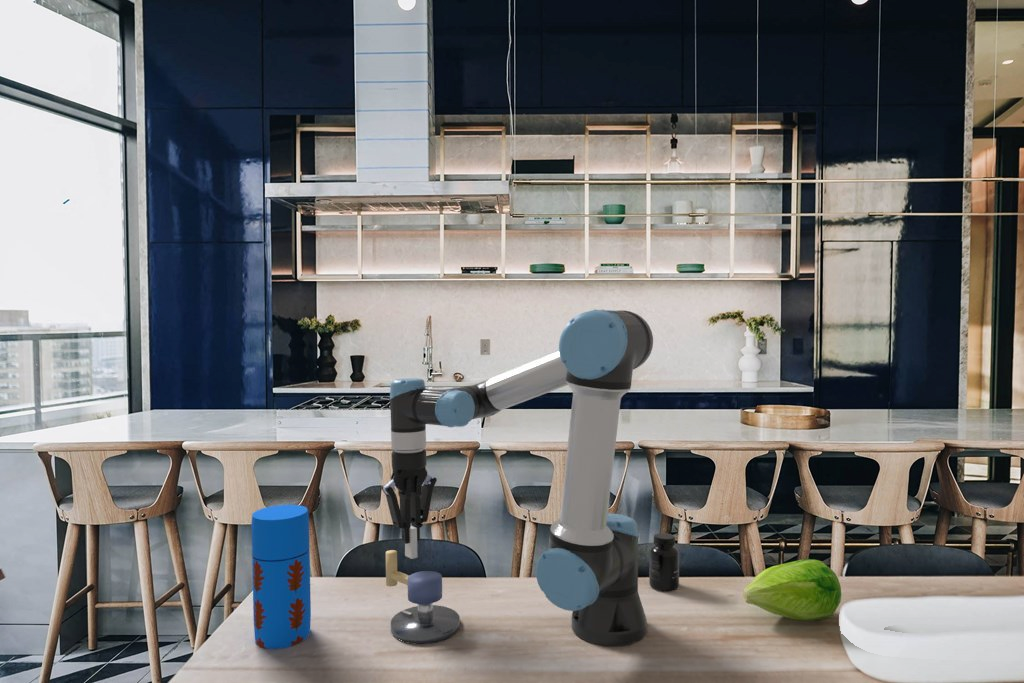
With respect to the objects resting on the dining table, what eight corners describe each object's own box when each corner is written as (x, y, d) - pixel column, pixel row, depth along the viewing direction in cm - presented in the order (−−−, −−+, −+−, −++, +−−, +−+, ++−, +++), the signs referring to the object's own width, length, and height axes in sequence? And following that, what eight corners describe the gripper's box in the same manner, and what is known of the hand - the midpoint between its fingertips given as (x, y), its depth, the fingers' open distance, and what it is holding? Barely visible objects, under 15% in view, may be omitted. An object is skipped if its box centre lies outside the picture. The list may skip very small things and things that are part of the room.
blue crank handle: (449, 597, 135) (449, 563, 135) (423, 609, 130) (422, 573, 129) (401, 577, 145) (400, 546, 145) (375, 587, 140) (374, 555, 140)
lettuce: (728, 607, 143) (728, 553, 142) (815, 602, 145) (815, 548, 145) (760, 638, 129) (760, 578, 129) (855, 631, 131) (856, 572, 131)
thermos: (274, 655, 124) (271, 523, 123) (242, 638, 131) (240, 514, 130) (322, 632, 133) (319, 510, 132) (290, 618, 139) (288, 501, 138)
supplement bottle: (682, 592, 151) (682, 540, 150) (652, 592, 151) (652, 540, 150) (675, 580, 158) (675, 531, 157) (646, 580, 158) (646, 531, 157)
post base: (473, 623, 136) (473, 594, 136) (427, 651, 125) (426, 620, 125) (424, 606, 145) (423, 579, 144) (376, 631, 133) (375, 602, 133)
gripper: (424, 443, 151) (427, 545, 151) (373, 451, 142) (376, 559, 143) (443, 447, 145) (445, 553, 146) (391, 456, 136) (393, 568, 137)
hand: (411, 556), depth 144 cm, fingers closed
